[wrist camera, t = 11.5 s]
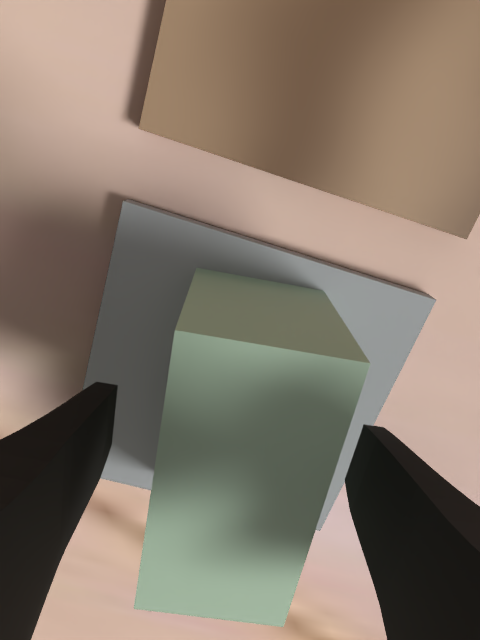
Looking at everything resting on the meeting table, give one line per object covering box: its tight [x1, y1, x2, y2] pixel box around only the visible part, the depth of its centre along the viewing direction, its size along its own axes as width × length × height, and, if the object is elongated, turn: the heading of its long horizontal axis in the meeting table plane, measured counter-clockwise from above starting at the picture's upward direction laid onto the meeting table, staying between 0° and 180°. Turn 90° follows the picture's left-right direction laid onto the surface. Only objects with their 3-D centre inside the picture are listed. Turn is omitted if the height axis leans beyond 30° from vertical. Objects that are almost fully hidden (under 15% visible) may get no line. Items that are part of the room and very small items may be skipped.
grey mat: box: [82, 199, 436, 531], centre depth 15 cm, size 10×10×1 cm
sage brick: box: [134, 268, 371, 627], centre depth 12 cm, size 4×8×5 cm, turn 169°
